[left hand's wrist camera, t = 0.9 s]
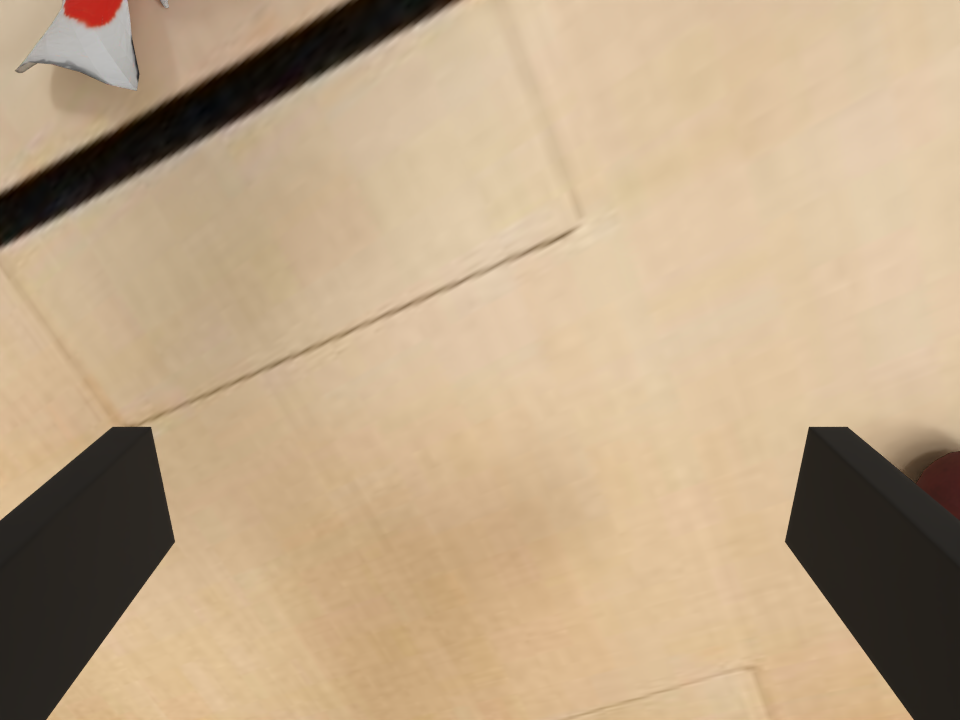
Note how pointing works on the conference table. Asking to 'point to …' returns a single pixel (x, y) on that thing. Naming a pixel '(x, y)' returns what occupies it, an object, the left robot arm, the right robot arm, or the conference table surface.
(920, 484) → the dark maroon ball
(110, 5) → the fish
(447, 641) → the conference table surface
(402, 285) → the conference table surface
